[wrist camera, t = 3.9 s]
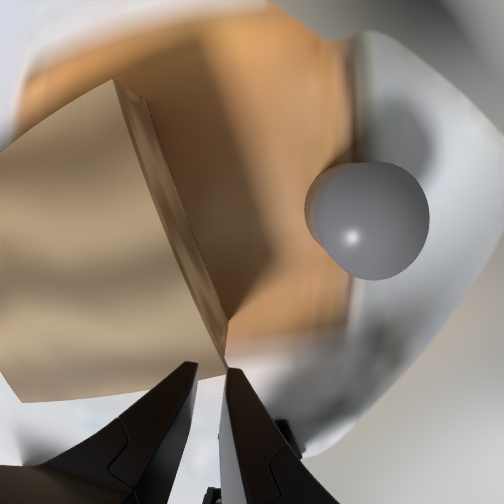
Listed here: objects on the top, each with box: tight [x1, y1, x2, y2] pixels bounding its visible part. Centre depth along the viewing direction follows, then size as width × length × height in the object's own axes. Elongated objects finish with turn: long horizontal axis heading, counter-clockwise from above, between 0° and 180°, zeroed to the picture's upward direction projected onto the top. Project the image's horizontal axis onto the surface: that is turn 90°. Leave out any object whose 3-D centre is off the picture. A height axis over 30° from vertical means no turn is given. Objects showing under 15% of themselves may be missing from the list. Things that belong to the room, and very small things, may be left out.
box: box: [118, 85, 229, 357], centre depth 18 cm, size 16×18×5 cm
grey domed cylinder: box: [304, 162, 429, 280], centre depth 17 cm, size 6×6×5 cm
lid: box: [0, 79, 229, 403], centre depth 15 cm, size 16×18×1 cm
